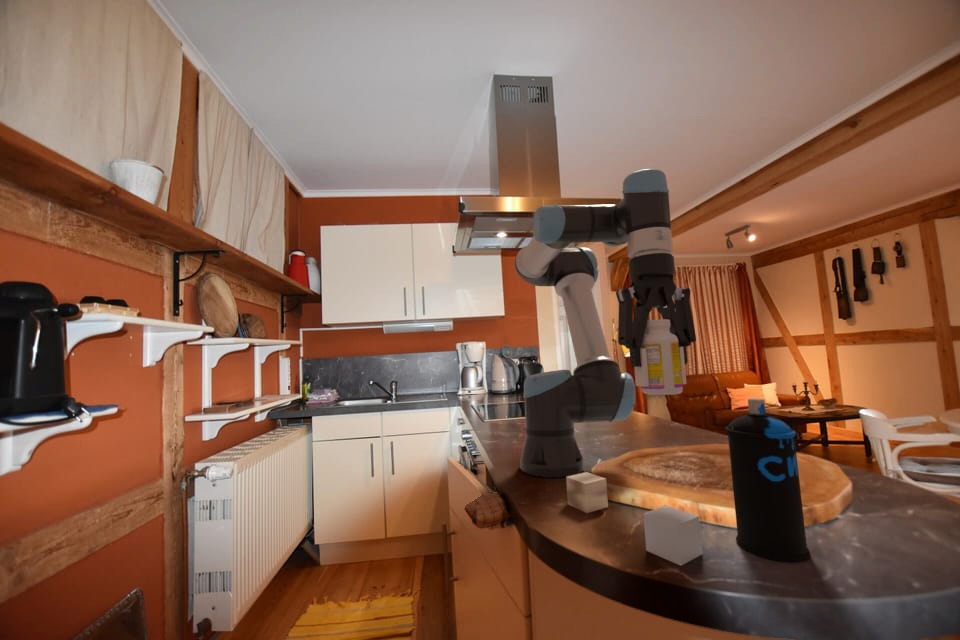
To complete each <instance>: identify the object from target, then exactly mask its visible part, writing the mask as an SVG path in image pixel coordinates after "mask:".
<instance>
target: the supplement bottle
mask: <svg viewBox="0 0 960 640" xmlns="http://www.w3.org/2000/svg"><path fill="white" fill-rule="evenodd" d="M670 326H671V325H670V320H668V319H663V318H662V319H649V320H647V325H646V329H645V333H644V337H643V342H642V346H641V347H640V349H641V348H646V353H647V366H648V378H649V386H647V387H644V386H640V388H641V391H642V393H643V394H646V395H652V396H653V395H654V396H663V395H664V396H669V395H670V396H671V395H679V394H681V393H683V391H684V390H683V389H684V388H683V387H684V386H683V384H682V375H681V365H680V355H679V344H678V338H677V337H676V336H675V335H674V334H672V333H670V330H669V328H670Z"/></svg>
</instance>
